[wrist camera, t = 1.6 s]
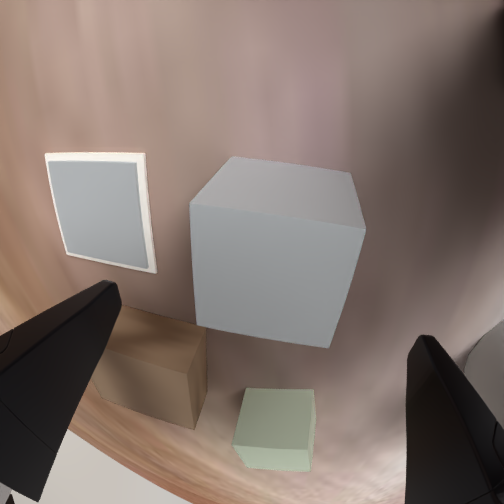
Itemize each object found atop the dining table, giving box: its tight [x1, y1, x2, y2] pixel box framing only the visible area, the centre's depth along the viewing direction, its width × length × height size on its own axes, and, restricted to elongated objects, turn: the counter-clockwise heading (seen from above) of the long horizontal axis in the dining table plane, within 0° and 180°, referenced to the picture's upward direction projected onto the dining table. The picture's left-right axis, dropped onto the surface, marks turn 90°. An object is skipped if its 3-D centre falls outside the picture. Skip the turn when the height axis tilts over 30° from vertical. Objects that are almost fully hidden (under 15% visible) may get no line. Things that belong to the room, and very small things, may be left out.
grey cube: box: [189, 157, 366, 348], centre depth 12 cm, size 5×5×5 cm
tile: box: [45, 152, 157, 274], centre depth 16 cm, size 7×7×1 cm
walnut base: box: [91, 305, 207, 430], centre depth 20 cm, size 8×8×4 cm
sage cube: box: [232, 388, 316, 472], centre depth 21 cm, size 5×5×5 cm
